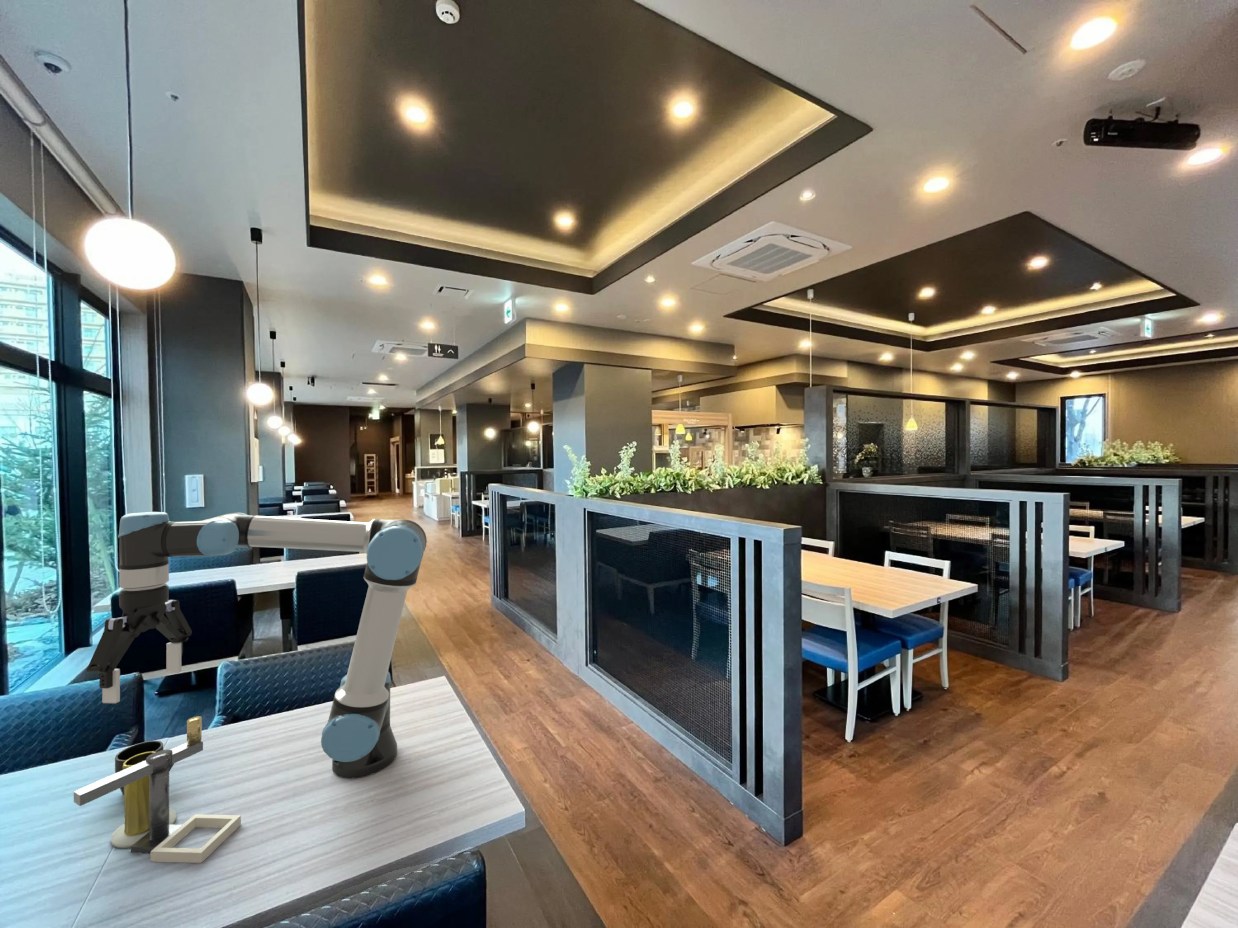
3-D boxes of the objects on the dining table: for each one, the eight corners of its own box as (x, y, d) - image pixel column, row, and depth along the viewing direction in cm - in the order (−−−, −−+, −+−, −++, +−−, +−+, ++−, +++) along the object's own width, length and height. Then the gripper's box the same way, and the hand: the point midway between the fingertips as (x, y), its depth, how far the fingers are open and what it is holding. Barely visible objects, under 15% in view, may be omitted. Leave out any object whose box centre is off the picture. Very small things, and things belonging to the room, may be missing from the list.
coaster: (188, 812, 110) (188, 809, 110) (145, 848, 100) (145, 844, 100) (144, 811, 110) (144, 808, 110) (96, 847, 100) (96, 843, 100)
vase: (141, 815, 107) (137, 751, 107) (171, 812, 108) (167, 748, 108) (115, 837, 101) (111, 768, 101) (147, 834, 102) (142, 765, 102)
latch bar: (81, 807, 90) (81, 769, 89) (71, 800, 91) (71, 763, 91) (206, 750, 107) (206, 718, 107) (195, 745, 109) (195, 714, 109)
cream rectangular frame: (240, 824, 107) (240, 815, 107) (201, 862, 97) (201, 852, 97) (194, 823, 107) (194, 814, 107) (150, 861, 97) (150, 851, 97)
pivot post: (186, 830, 105) (186, 759, 104) (160, 853, 99) (160, 778, 98) (158, 829, 105) (158, 758, 104) (130, 852, 99) (130, 777, 98)
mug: (157, 802, 113) (157, 761, 113) (104, 801, 113) (104, 760, 112) (188, 778, 121) (188, 740, 121) (138, 778, 121) (138, 739, 121)
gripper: (180, 571, 116) (180, 660, 117) (59, 603, 91) (59, 716, 92) (211, 572, 116) (211, 661, 117) (99, 604, 91) (99, 717, 92)
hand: (144, 686), depth 104 cm, fingers open, 13 cm apart
